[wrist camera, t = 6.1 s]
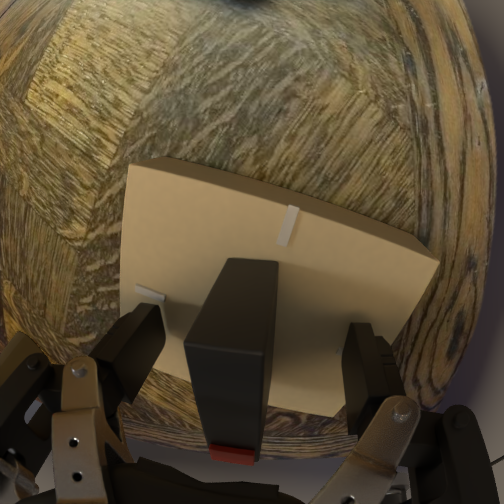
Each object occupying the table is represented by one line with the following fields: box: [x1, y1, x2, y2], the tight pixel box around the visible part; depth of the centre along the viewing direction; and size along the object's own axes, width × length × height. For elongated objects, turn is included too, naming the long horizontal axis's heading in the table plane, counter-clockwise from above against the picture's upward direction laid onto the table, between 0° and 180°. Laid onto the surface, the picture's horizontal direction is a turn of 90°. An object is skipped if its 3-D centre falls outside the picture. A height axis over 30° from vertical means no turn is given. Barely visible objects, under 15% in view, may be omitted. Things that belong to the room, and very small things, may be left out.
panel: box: [120, 156, 440, 417], centre depth 12 cm, size 12×10×3 cm
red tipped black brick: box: [183, 258, 279, 466], centre depth 9 cm, size 6×2×5 cm, turn 0°
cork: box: [0, 332, 43, 387], centre depth 17 cm, size 6×6×11 cm
